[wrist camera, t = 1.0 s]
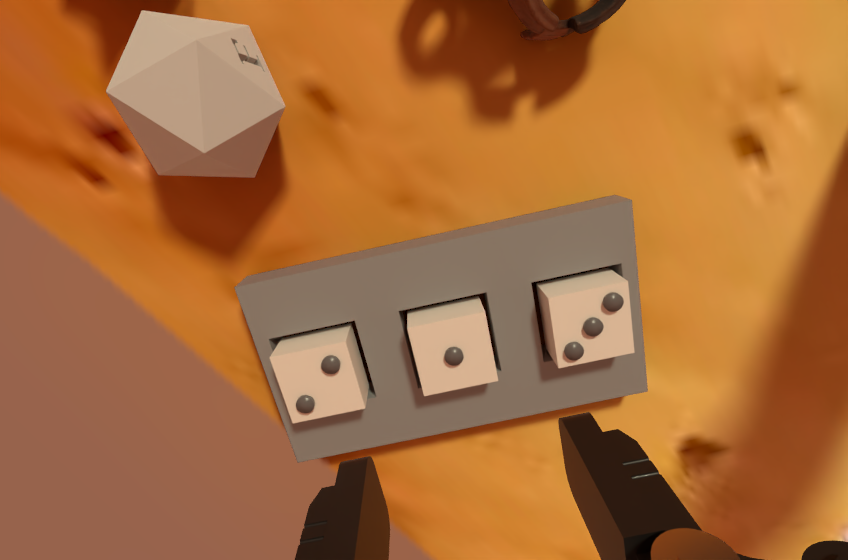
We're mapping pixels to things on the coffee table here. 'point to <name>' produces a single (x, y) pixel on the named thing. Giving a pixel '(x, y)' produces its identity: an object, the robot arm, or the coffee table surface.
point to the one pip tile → (451, 345)
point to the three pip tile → (586, 317)
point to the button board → (441, 281)
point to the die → (196, 96)
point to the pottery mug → (548, 25)
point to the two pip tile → (320, 373)
